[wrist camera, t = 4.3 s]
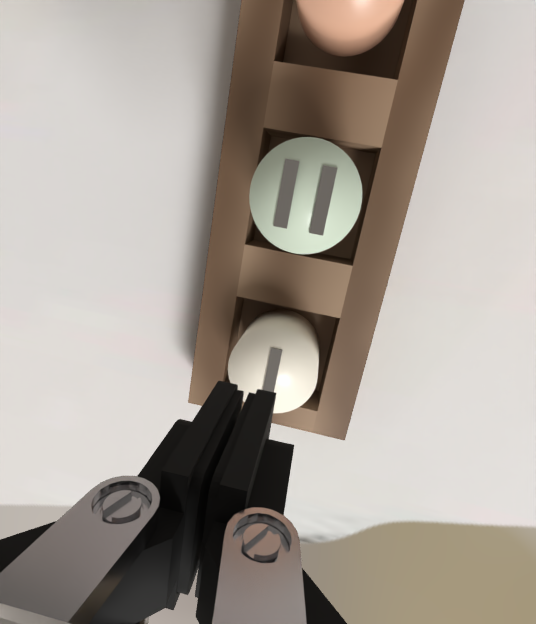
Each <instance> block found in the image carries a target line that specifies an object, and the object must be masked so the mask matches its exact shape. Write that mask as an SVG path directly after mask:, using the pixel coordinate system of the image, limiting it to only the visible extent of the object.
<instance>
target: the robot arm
mask: <svg viewBox="0 0 536 624" xmlns="http://www.w3.org/2000/svg"><path fill="white" fill-rule="evenodd" d="M243 396H244V391H241V390H238V385H237V384H233V383H228V382H223V381H218V382H217V383H216V385H215V387H214V388H213V390H212V391H211V393H210V395H209V396H208V398H207V399H206V401H205V402H204V404H203V406H202V407H201V409H200V410H199V412H198V414H197V415H196V417H195V418H194V420H193V421H192V422H190V421H186V420H181V419H179V420H177V421H176V422H175V424H174V425H173V427H172V428H171V429H170V431H169V432H168V434H167V435H166V437H165V438H164V439H163V441H162V442H161V444H160V445H159V446H158V448H157V449H156V451H155V452H154V454H153V455H152V456H151V458H150V459H149V461H148V462H147V463H146V465H145V466H144V468H143V469H142V471H141V472H140V473H139V475H138V476H119V477H114V478H110V479H108V480H106V481H103V482H101V483H100V484H98V485H97V486H95V487H94V488H93V489H91V490H90V491H89V492H88V493H87V494H86V495H85V496H84V497H83V498H82V499H80V500H79V501H78V502H77V503H76V504H75V505H74V506H73V507H72V508H71V509H70V510H68V511H67V512H66V513H65V514H64V515H63V516H62V517H61V518H60V519H59V520H57V521H56V522H52V523H50V524H47V525H43V526H40V527H37V528H35V529H31V530H28V531H25V532H22V533H19V534H16V535H13V536H10V537H7V538H4V539H1V540H0V624H148V622H149V616H151V615H153V614H154V613H156V612H158V611H160V610H162V609H164V608H168V609H171V610H174V607H175V605H176V602H177V600H178V597H179V595H180V593H183V594H187V595H188V594H189V592H190V589H191V587H192V584H193V581H194V578H195V575H196V573H197V570H198V567H199V570H198V576H197V585H196V591H195V597H197V598H198V604H197V610H196V618H197V620H198V622H199V624H347V623H346V622H345V621H344V619H343V618H342V617H341V616H340V614H339V613H338V612H337V611H336V609H335V608H334V607H333V606H332V604H331V603H330V602H329V601H328V599H327V598H326V597H325V596H324V595H323V593H322V592H321V591H320V589H319V588H318V587H317V586H316V585H315V583H314V582H313V581H312V580H311V578H310V577H309V576H308V575H307V573H306V572H305V571H304V570H303V568H302V564H301V551H300V540H299V537H298V533H297V530H296V529H295V527H294V526H293V524H292V523H291V522H290V521H289V520H288V519H287V518H286V517H285V516H284V508H285V502H286V495H287V488H288V482H289V475H290V469H291V462H292V456H293V449H294V445H292V444H287V443H283V442H278V441H274V440H270V439H269V433H270V427H271V422H272V416H273V411H274V405H275V399H276V393H275V392H270V391H265V390H261V389H257V391H256V394H255V393H250V392H249V394H248V396H247V398H246V400H245V403H244V405H243V407H242V402H243ZM241 409H242V410H241Z"/></svg>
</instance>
